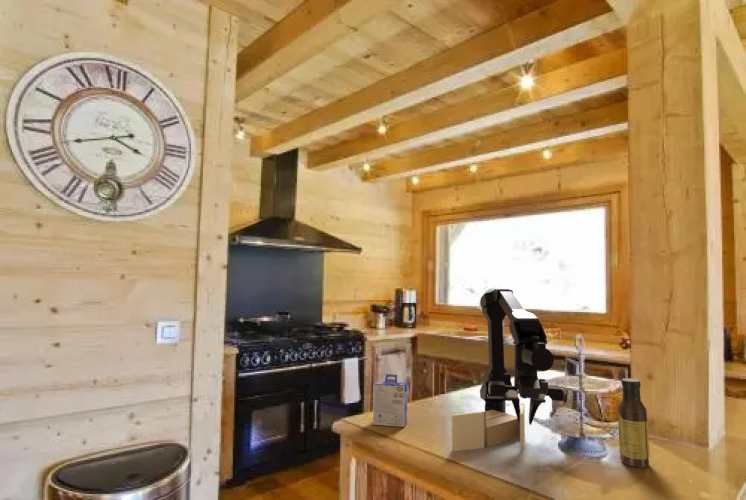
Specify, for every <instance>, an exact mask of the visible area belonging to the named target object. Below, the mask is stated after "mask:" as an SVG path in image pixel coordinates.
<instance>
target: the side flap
mask: <svg viewBox="0 0 746 500" xmlns="http://www.w3.org/2000/svg"><path fill="white" fill-rule="evenodd" d="M525 422H526V421H525V404H524V403H520V436H519V447H520V448H519V449H520V450H524V447H525V436H526V435H525V433H526V432H525V431H526V429H525V428H526V427H525Z"/></svg>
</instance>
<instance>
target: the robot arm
mask: <svg viewBox="0 0 746 500" xmlns="http://www.w3.org/2000/svg"><path fill="white" fill-rule="evenodd" d="M479 304H480V307H481V312H482V315H483V317H484V318H485V319H486V321H487V338H488V339H487V341H488V368H487V370H486V372H485V373H484V377H483V381H482V384H481V386H480V389H479V397H480V399H482V400H483V401H484V412H485V411H489V410H495V411H499V412H502V413H507V412H506V405H507V404H506V401H507V402H512V403H511V404H512V406H513V409H514V412H515V416H517V419H518V422H519V424H520V408H521V403H520V402H521V401H520V398H521V399H529V408H528V409H529V411H528V424H529V425H530V426H531V425H532V423H533V420H534V418H535V416H536V413H537V410H538V409H539V407H540V406H541V405H542V403H543V404H545V403H546V402H547V401H546V397H549V399H551V401H556V402H557V401H559V402H565V401H566V399H565V398H566V394H565V390H563V389H562V388H561V387H560V386H559V385H554V384H552V385H551V384H549V380H548V379H546V378H539V376H538V371H539V372H547V371H549V370H550V369H551V368H552V367H553V365H554V361H555V358H554V355H553V353H552V351H550V349H548V348H547V346H546V345H547V344H548V341H547V339H548V336H547V334H546V332H545V329H544V328H543V325H542V322H541V320H540V319H539V318H538V317H537V316H536V315H535V314H534V313H532V312H530V311H526V310H525V309H524V307H523V306H522V304H521V303H520V302H519V300H518V299H517V298H516V296H515V295H514V292H513V289H512V288H509V287H507V288H505V287H498V288H494V290H491V291H488V292H486V293H484V294H483V295H482V296H481V297H480V303H479ZM506 316H507V318H508V320H509V327H508V329H509V332H510V335H511V336H512V338H513V342H512V343H513V345H514V360H513V361H514V365H513V366H514V367H513V368H514V371H513V373H514V374H513V376H514V378H513V383H512V377H511V375H510V373H509V372H507V370H506V368H505V348H504V347H505V346H504V344H505V343H504V319H505V318H506ZM519 397H520V398H519Z"/></svg>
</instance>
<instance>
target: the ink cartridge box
mask: <svg viewBox="0 0 746 500" xmlns="http://www.w3.org/2000/svg"><path fill="white" fill-rule="evenodd" d="M391 377H393V379H392V378H391ZM372 409H373V413H372V415H373V416H372V419H373V420H372V425H374V426H375V425H376V426H384V427H385V426H387V427H401V428H405V427H406V425H407V423H408V382H404V381H403V382H402V381H398V374H388V373H386V374H385V379H384V381H379V380H378V381H376V382H375V383H374V384H373V408H372Z"/></svg>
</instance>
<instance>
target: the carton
mask: <svg viewBox="0 0 746 500" xmlns="http://www.w3.org/2000/svg"><path fill="white" fill-rule="evenodd" d="M484 412H486V448H489V447H491V446H495V445H497V444H501V443H504V442H506V441H509V440H513V439H515V438H518V437H519V438H520V424H519V422H518V419H517V415H512V414H509V413H507V412H506V413H502V412H499V411H495V410H489V411H485V410H484Z"/></svg>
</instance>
